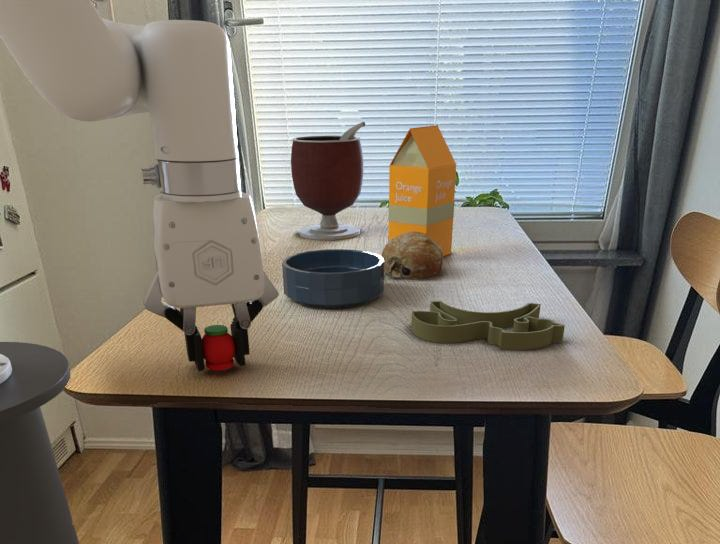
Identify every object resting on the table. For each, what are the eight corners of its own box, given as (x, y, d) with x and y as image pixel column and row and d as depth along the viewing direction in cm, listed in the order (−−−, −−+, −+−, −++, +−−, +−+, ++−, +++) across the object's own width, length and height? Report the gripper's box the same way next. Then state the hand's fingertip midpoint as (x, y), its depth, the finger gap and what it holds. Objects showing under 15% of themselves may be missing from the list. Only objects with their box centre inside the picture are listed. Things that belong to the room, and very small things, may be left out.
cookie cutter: (553, 318, 86) (555, 303, 85) (566, 351, 76) (568, 334, 75) (413, 315, 88) (414, 300, 87) (407, 346, 78) (408, 329, 77)
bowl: (300, 316, 88) (298, 277, 86) (273, 288, 100) (271, 254, 97) (399, 303, 93) (399, 267, 90) (362, 279, 104) (362, 245, 101)
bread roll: (376, 297, 108) (370, 256, 101) (393, 256, 113) (387, 214, 107) (437, 302, 105) (434, 260, 99) (450, 260, 110) (448, 217, 104)
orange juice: (452, 253, 118) (459, 125, 108) (425, 263, 112) (430, 129, 102) (414, 248, 122) (418, 124, 112) (387, 257, 116) (388, 127, 106)
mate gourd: (280, 235, 133) (272, 121, 122) (322, 224, 143) (318, 117, 132) (345, 244, 125) (342, 123, 115) (383, 231, 135) (384, 119, 125)
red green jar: (205, 373, 70) (200, 336, 68) (199, 361, 73) (194, 324, 71) (240, 369, 71) (237, 331, 69) (233, 357, 74) (230, 321, 72)
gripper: (109, 189, 57) (143, 387, 67) (296, 181, 62) (303, 366, 72) (105, 178, 63) (137, 361, 73) (276, 172, 68) (285, 344, 78)
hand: (219, 362), depth 72 cm, fingers closed on red green jar, 3 cm apart
